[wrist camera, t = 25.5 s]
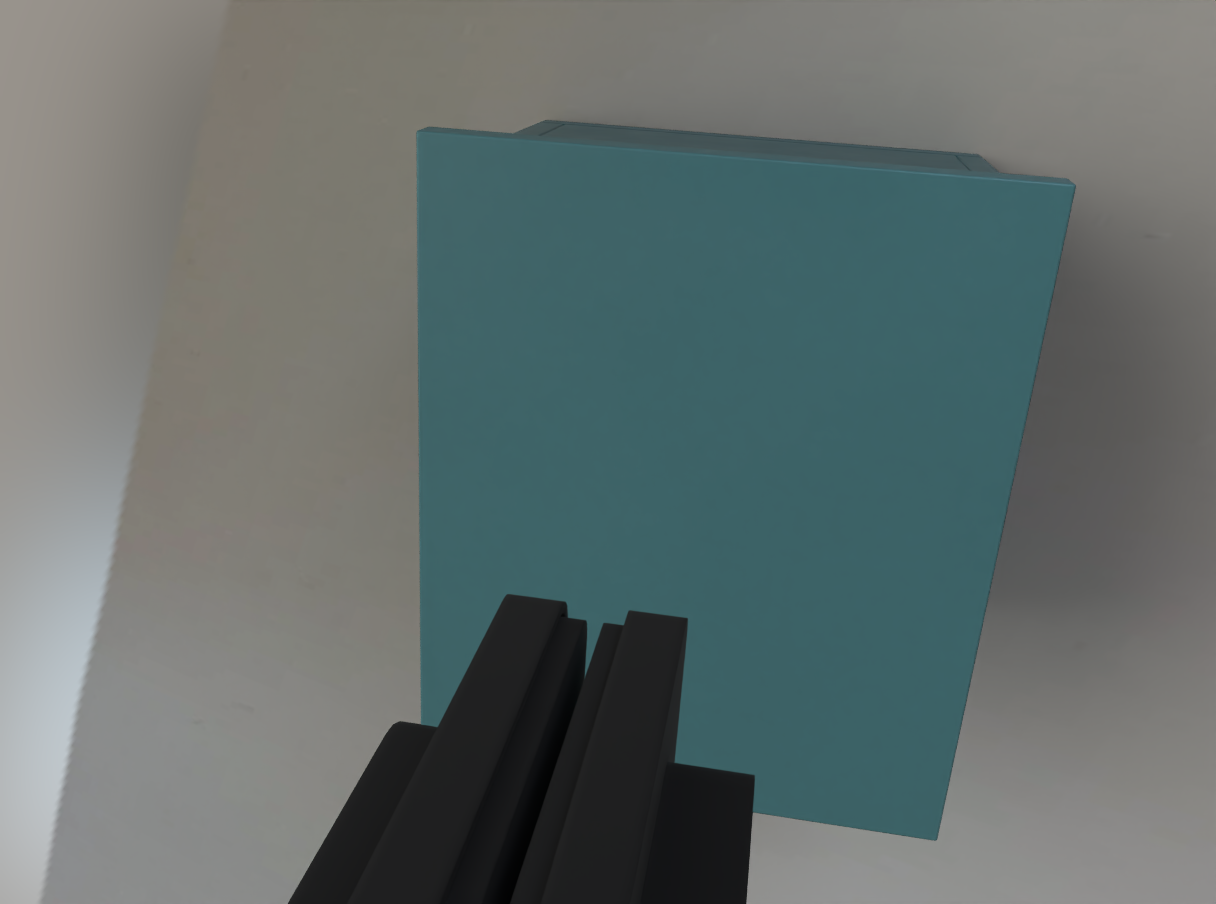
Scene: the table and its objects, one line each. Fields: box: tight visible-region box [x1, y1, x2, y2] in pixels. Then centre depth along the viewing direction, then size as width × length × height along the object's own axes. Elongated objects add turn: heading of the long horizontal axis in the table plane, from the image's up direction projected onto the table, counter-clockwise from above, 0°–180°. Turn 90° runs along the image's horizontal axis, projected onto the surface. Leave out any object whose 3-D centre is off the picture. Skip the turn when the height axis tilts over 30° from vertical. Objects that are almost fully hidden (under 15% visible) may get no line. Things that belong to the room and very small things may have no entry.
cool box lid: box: [416, 127, 1076, 841], centre depth 27 cm, size 16×14×1 cm
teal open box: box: [513, 120, 999, 173], centre depth 33 cm, size 16×14×12 cm
